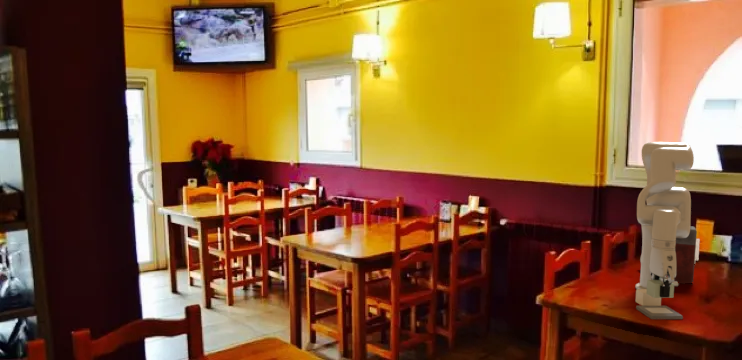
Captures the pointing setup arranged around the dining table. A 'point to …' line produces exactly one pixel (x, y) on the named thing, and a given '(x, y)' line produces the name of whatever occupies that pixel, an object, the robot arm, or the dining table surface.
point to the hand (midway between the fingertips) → (660, 294)
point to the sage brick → (657, 289)
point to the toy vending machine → (685, 257)
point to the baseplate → (659, 312)
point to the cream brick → (646, 298)
